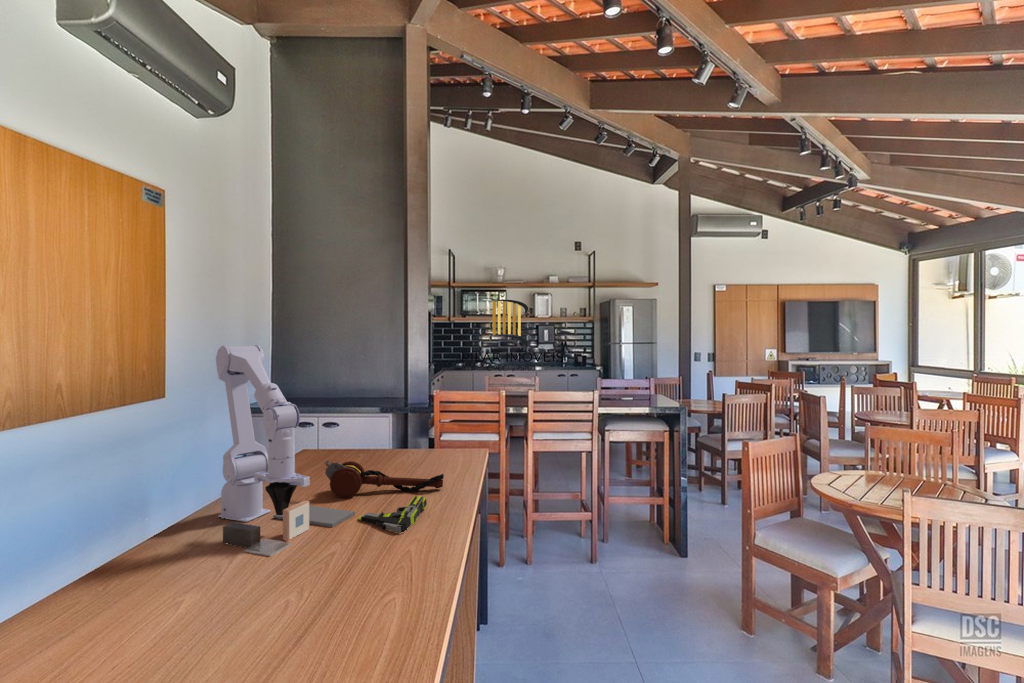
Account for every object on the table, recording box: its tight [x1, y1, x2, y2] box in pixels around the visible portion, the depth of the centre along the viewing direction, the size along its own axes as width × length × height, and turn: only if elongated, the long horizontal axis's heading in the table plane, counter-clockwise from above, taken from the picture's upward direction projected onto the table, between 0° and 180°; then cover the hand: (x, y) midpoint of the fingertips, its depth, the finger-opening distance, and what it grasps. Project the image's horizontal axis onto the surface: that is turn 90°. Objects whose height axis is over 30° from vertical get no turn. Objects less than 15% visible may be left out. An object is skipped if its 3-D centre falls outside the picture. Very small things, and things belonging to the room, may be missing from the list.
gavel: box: [324, 459, 445, 499], centre depth 149 cm, size 10×34×10 cm
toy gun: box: [358, 494, 428, 534], centre depth 128 cm, size 20×4×15 cm
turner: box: [222, 521, 292, 557], centre depth 111 cm, size 15×6×4 cm, turn 72°
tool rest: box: [272, 504, 356, 528], centre depth 128 cm, size 18×9×1 cm, turn 72°
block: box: [282, 500, 310, 542], centre depth 117 cm, size 2×7×7 cm, turn 162°
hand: (281, 513), depth 118 cm, fingers closed
